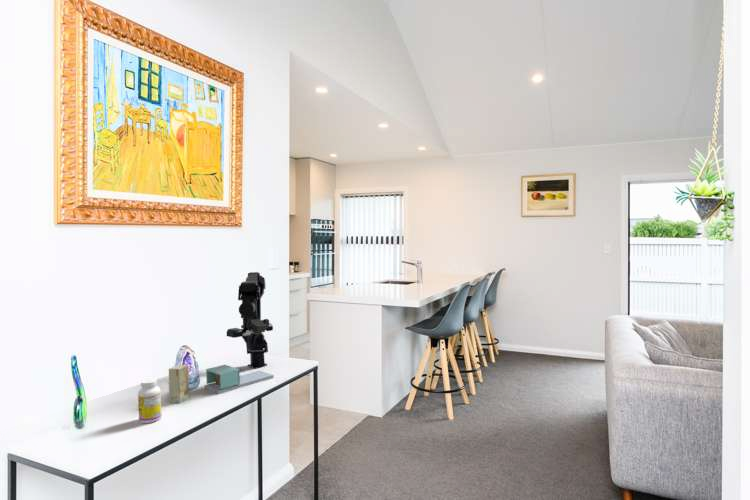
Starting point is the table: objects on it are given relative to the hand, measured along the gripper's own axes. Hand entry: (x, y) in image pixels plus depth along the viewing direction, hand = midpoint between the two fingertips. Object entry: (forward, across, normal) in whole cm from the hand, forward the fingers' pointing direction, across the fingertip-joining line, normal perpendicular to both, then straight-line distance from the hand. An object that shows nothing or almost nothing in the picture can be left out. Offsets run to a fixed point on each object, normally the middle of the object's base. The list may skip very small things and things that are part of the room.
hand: (251, 350), depth 194 cm
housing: (+11, -13, 0) cm, 17 cm away
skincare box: (+12, -30, 0) cm, 33 cm away
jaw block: (+11, -13, 0) cm, 17 cm away
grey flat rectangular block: (+12, -6, 0) cm, 13 cm away
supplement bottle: (+12, -46, -11) cm, 48 cm away
